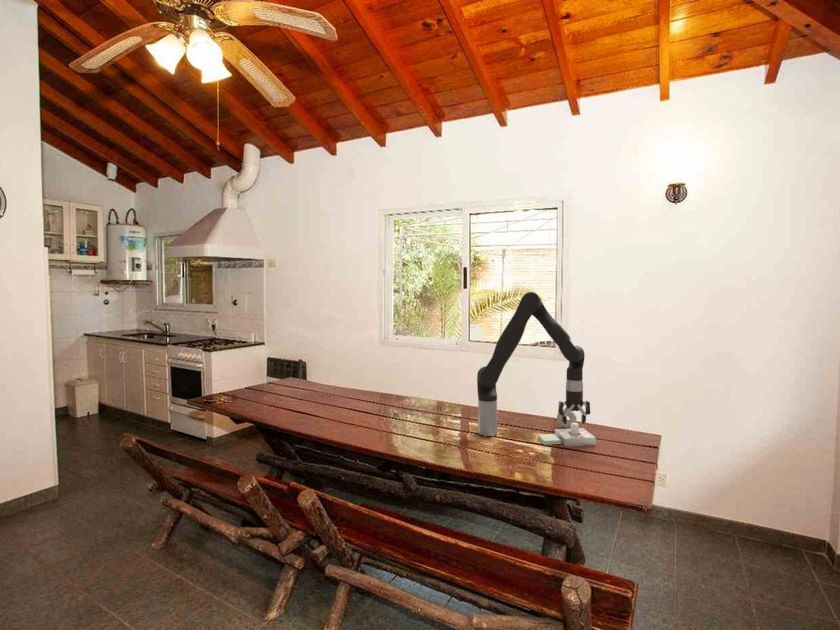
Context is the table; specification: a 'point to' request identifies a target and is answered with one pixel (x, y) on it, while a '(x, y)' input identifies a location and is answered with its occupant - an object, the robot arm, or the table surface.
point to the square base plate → (549, 439)
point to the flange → (575, 437)
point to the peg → (574, 428)
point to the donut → (568, 425)
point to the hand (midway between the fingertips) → (574, 423)
